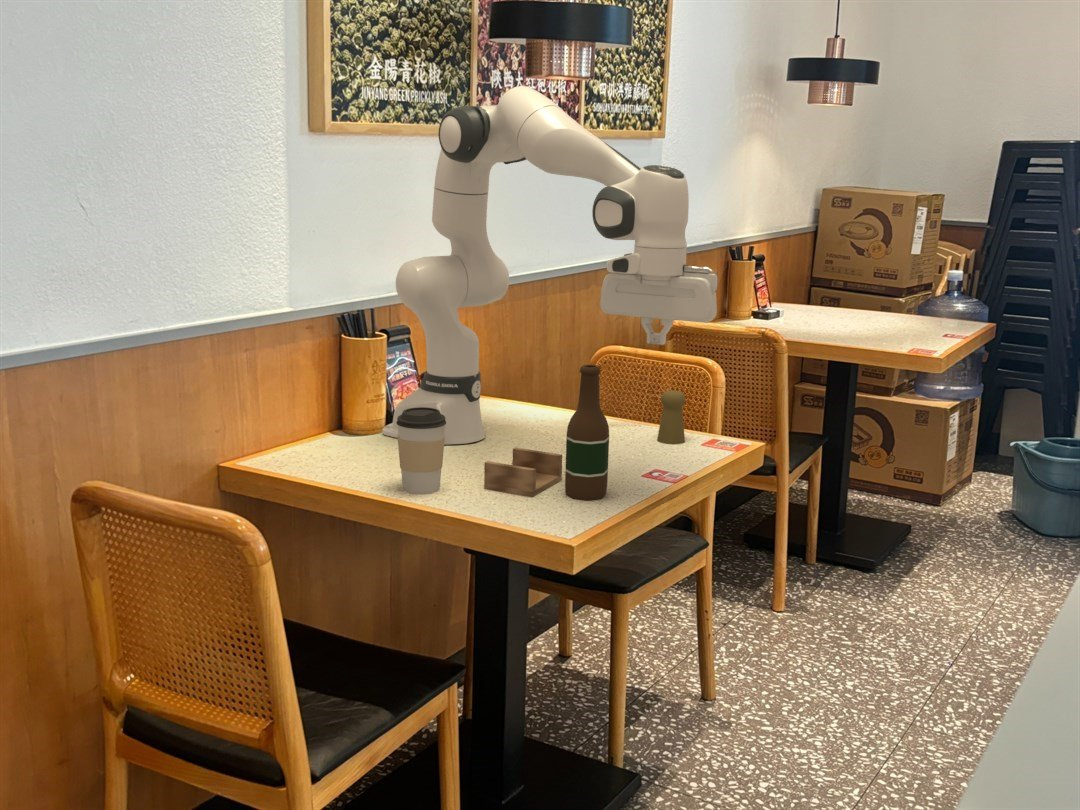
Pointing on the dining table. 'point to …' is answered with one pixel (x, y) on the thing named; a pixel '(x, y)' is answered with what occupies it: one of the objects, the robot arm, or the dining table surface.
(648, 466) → the dining table surface
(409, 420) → the coffee cup
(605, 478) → the beer bottle
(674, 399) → the cork
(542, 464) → the walnut rest
